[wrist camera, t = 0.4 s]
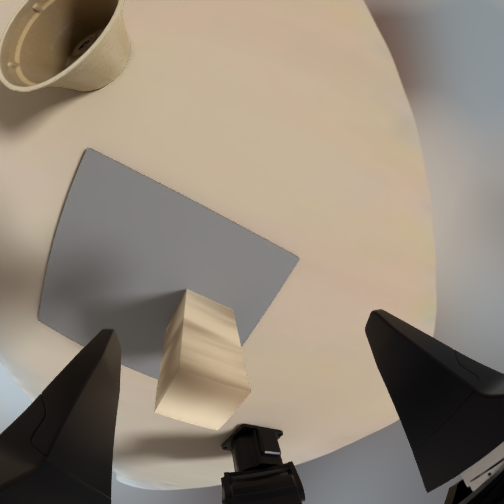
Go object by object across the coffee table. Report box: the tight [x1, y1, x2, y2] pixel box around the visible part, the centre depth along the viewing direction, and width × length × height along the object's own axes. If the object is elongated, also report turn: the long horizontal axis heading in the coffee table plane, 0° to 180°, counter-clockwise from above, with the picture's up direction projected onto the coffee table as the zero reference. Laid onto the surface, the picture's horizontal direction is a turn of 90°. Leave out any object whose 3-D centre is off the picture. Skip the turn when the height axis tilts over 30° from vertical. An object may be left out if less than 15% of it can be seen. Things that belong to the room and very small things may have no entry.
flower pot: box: [0, 0, 131, 92], centre depth 12 cm, size 9×9×9 cm
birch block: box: [154, 289, 251, 430], centre depth 20 cm, size 4×5×10 cm
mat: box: [38, 148, 299, 379], centre depth 23 cm, size 18×20×1 cm
